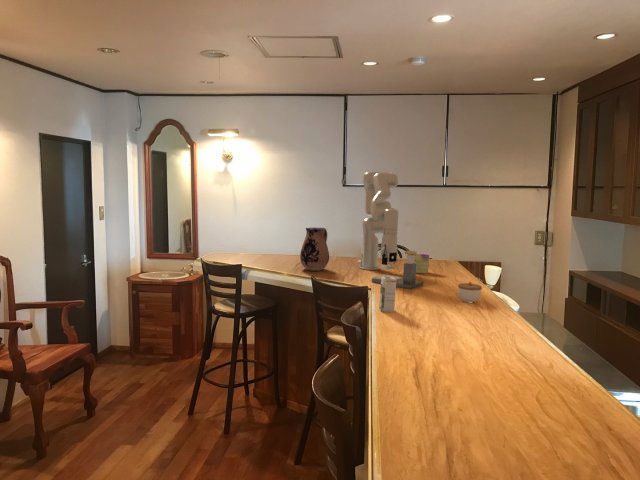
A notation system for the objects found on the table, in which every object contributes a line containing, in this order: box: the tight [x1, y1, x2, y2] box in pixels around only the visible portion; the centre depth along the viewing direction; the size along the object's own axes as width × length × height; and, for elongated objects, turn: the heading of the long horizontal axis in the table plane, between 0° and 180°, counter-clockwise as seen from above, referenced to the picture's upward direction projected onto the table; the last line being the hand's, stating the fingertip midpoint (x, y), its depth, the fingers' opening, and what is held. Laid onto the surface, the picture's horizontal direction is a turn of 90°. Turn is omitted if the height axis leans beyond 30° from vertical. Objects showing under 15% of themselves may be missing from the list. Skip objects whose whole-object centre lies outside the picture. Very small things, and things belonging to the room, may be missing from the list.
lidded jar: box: [457, 281, 483, 303], centre depth 246 cm, size 11×11×9 cm
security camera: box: [380, 250, 399, 270], centre depth 283 cm, size 6×7×10 cm
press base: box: [371, 262, 424, 290], centre depth 280 cm, size 24×14×12 cm, turn 53°
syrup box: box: [378, 276, 397, 313], centre depth 224 cm, size 6×6×14 cm
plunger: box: [404, 250, 418, 264], centre depth 275 cm, size 6×6×12 cm
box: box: [414, 252, 430, 274], centre depth 316 cm, size 10×6×12 cm, turn 84°
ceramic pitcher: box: [299, 227, 330, 272], centre depth 313 cm, size 18×21×25 cm
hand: (388, 263), depth 283 cm, fingers closed on security camera, 8 cm apart
